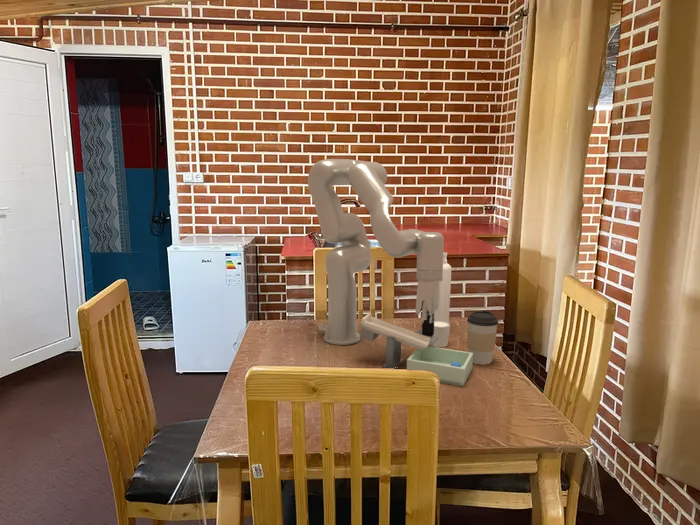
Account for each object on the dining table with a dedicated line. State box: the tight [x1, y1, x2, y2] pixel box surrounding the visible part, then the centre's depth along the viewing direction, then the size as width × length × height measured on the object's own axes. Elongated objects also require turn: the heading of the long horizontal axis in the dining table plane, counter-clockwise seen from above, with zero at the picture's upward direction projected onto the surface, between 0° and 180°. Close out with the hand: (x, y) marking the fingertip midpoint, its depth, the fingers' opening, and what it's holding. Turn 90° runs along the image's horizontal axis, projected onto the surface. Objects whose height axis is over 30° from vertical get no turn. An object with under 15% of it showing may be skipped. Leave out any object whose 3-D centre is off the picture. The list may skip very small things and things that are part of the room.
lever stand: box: [382, 337, 405, 370], centre depth 153 cm, size 4×8×10 cm, turn 157°
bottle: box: [432, 251, 452, 324], centre depth 183 cm, size 8×8×28 cm
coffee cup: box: [467, 310, 499, 366], centre depth 156 cm, size 9×9×15 cm
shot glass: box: [431, 321, 451, 348], centre depth 171 cm, size 7×7×7 cm
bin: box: [406, 345, 473, 387], centre depth 148 cm, size 16×13×5 cm
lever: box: [359, 313, 438, 351], centre depth 155 cm, size 21×12×6 cm, turn 67°
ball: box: [450, 362, 461, 367], centre depth 146 cm, size 3×3×3 cm
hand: (427, 334), depth 154 cm, fingers closed
